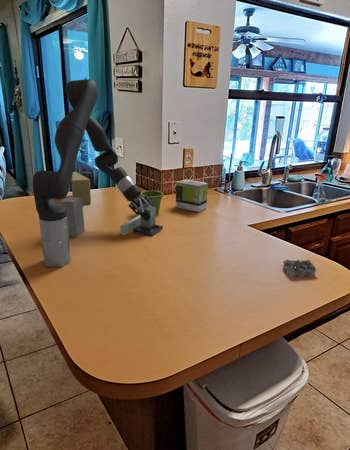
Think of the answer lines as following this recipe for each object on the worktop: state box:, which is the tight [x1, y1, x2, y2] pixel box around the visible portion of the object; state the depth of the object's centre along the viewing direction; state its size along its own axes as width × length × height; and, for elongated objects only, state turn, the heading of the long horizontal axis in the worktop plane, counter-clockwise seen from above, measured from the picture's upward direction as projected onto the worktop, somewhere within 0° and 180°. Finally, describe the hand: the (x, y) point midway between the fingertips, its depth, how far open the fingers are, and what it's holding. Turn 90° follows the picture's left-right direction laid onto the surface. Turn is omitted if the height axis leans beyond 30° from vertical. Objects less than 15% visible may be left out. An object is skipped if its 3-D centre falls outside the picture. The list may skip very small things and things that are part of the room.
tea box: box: [175, 179, 209, 213], centre depth 187 cm, size 15×10×15 cm
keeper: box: [132, 224, 164, 237], centre depth 155 cm, size 10×10×2 cm
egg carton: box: [282, 259, 318, 277], centre depth 122 cm, size 11×8×4 cm
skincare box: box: [59, 196, 85, 238], centre depth 146 cm, size 8×7×16 cm
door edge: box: [119, 214, 140, 236], centre depth 157 cm, size 20×2×4 cm, turn 155°
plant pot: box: [141, 190, 164, 216], centre depth 175 cm, size 12×12×11 cm
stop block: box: [140, 206, 157, 232], centre depth 153 cm, size 5×5×11 cm
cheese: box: [71, 171, 92, 206], centre depth 193 cm, size 22×10×15 cm, turn 26°
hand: (151, 217), depth 152 cm, fingers open, 6 cm apart
